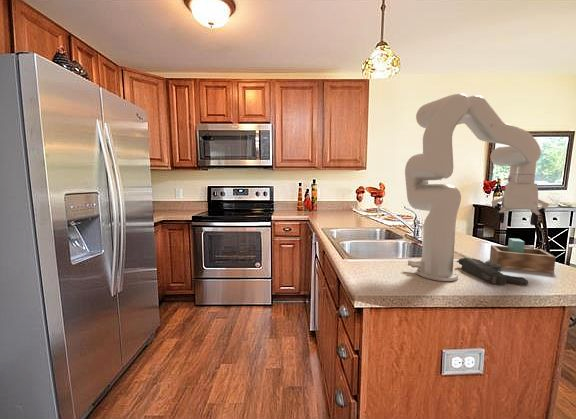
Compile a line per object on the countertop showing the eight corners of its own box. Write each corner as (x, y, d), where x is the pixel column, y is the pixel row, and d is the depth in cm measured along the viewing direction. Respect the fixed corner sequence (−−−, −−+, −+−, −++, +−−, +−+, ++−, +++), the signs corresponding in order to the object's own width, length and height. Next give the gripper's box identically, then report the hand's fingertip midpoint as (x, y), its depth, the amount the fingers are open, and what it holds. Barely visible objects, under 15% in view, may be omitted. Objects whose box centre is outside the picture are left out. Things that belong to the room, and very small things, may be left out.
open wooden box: (497, 266, 103) (498, 251, 103) (489, 259, 114) (490, 245, 114) (553, 273, 96) (555, 256, 95) (540, 264, 107) (541, 249, 106)
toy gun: (495, 258, 103) (455, 253, 103) (539, 277, 83) (490, 272, 84) (492, 270, 103) (452, 265, 104) (535, 292, 84) (486, 287, 85)
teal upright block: (513, 265, 102) (515, 242, 101) (506, 259, 110) (508, 238, 109) (525, 266, 101) (527, 243, 100) (517, 260, 109) (519, 238, 108)
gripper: (496, 179, 104) (491, 222, 105) (555, 179, 96) (550, 227, 98) (491, 179, 111) (487, 221, 112) (546, 180, 103) (541, 224, 105)
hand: (516, 223), depth 105 cm, fingers open, 9 cm apart
